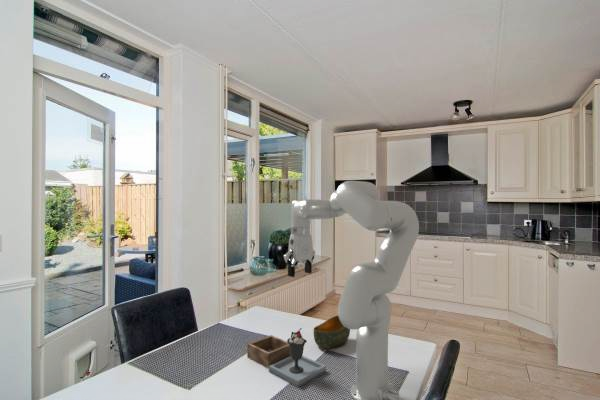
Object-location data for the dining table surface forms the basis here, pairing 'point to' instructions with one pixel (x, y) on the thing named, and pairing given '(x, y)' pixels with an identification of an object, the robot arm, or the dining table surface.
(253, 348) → the holder
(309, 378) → the tray
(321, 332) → the green bowl
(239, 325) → the dining table surface
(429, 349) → the dining table surface
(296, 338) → the sundae
